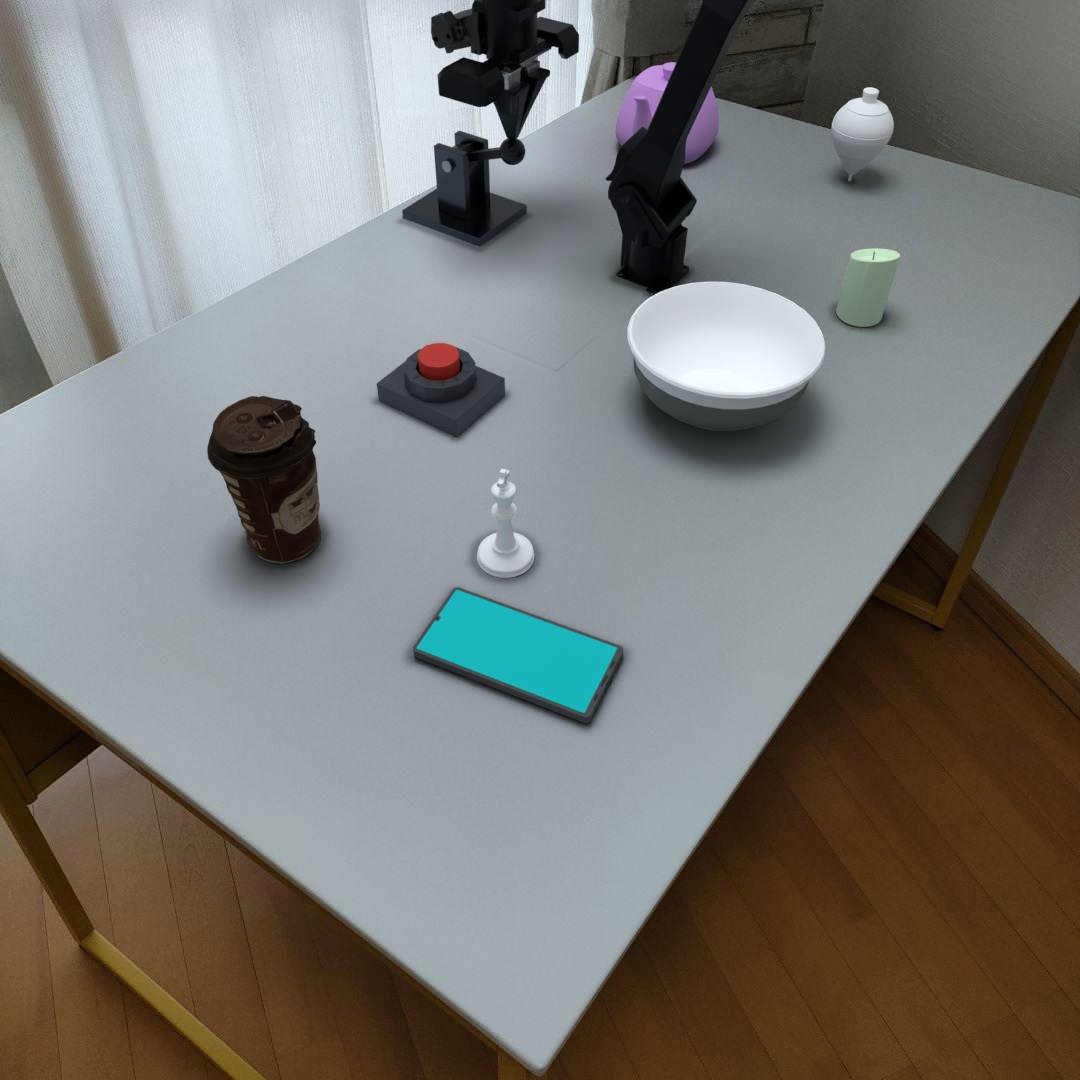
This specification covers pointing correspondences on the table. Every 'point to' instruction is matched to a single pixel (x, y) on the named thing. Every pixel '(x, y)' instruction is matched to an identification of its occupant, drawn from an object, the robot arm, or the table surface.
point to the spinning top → (861, 130)
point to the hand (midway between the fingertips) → (512, 138)
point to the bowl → (724, 353)
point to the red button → (439, 361)
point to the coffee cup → (269, 475)
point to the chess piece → (505, 536)
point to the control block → (442, 394)
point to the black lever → (495, 152)
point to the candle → (867, 286)
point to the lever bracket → (464, 197)
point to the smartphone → (520, 653)
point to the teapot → (644, 104)
